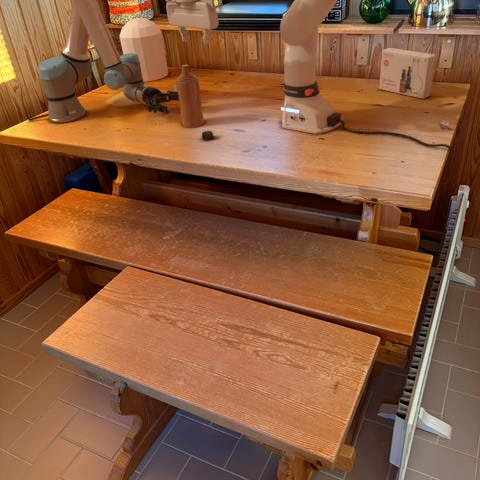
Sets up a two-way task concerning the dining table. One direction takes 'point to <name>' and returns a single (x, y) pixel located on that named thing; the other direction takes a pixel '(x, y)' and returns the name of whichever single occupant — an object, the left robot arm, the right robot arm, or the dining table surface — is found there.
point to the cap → (207, 135)
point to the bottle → (189, 98)
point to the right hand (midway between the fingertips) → (195, 42)
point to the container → (145, 47)
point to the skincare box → (407, 72)
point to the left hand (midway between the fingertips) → (181, 105)
